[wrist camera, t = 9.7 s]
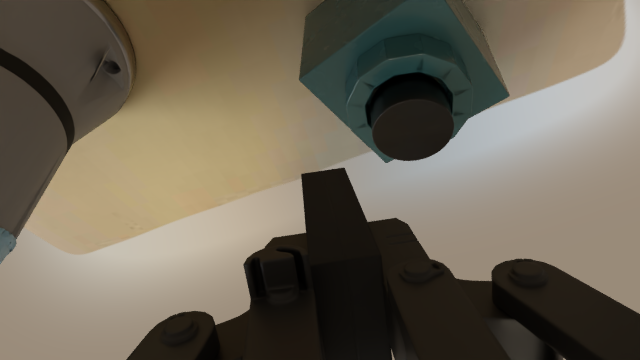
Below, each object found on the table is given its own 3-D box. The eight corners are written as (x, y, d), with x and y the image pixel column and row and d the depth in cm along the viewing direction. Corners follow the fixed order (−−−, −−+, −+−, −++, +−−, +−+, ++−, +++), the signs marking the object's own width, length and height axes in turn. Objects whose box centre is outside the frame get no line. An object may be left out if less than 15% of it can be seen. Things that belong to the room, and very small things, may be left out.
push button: (354, 101, 28) (355, 128, 27) (420, 58, 26) (426, 84, 24) (397, 145, 31) (401, 171, 29) (461, 109, 29) (469, 136, 27)
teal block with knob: (305, 16, 35) (296, 101, 28) (414, -74, 30) (438, 0, 23) (379, 96, 41) (388, 185, 33) (482, 30, 36) (520, 118, 28)
